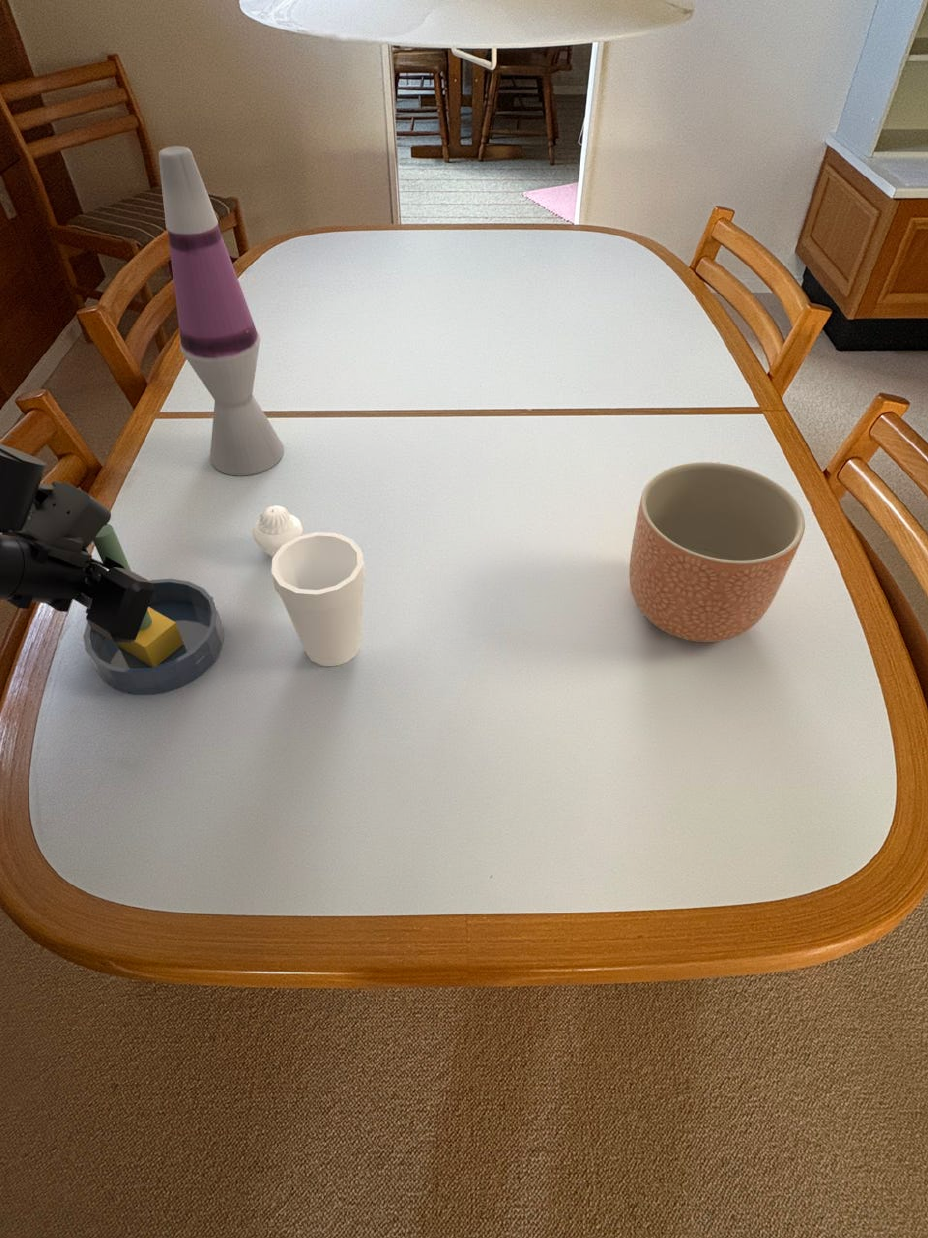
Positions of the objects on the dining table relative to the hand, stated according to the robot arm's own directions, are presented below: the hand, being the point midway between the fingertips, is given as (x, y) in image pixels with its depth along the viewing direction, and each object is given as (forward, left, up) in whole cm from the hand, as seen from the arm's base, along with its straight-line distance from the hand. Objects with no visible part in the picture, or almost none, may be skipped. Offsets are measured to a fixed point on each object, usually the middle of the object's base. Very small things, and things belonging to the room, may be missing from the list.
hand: (138, 584), depth 84 cm
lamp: (+18, +32, -9) cm, 38 cm away
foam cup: (+18, -9, -9) cm, 22 cm away
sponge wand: (-1, -1, -9) cm, 9 cm away
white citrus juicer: (+17, +9, -9) cm, 21 cm away
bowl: (0, -1, -9) cm, 9 cm away
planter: (+59, -21, -9) cm, 63 cm away
